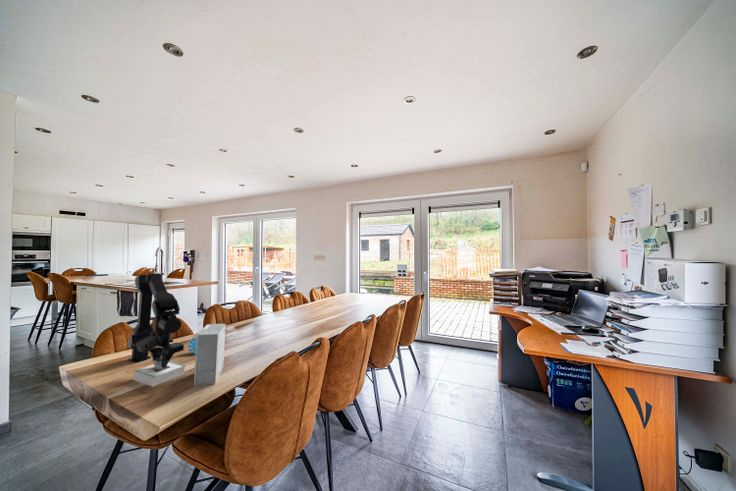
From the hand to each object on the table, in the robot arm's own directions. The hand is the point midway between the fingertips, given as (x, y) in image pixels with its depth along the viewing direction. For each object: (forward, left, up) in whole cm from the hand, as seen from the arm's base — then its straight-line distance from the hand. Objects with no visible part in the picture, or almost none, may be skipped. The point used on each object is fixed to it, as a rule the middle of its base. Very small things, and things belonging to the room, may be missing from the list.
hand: (160, 366), depth 109 cm
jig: (0, 0, -4) cm, 4 cm away
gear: (-10, +25, -4) cm, 28 cm away
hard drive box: (+17, +9, -4) cm, 20 cm away
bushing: (0, 0, -3) cm, 3 cm away
